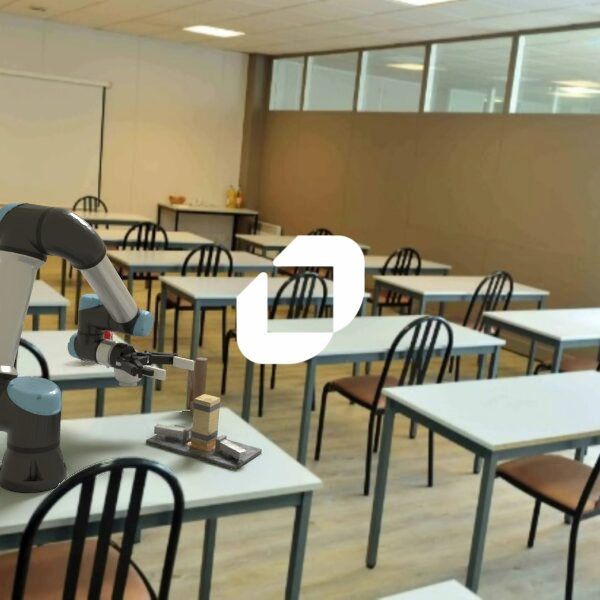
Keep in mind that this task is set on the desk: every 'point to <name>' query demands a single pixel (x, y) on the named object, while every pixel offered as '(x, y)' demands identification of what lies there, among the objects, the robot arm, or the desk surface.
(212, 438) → the banded tan block
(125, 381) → the teacup
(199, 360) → the wooden block
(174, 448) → the base
